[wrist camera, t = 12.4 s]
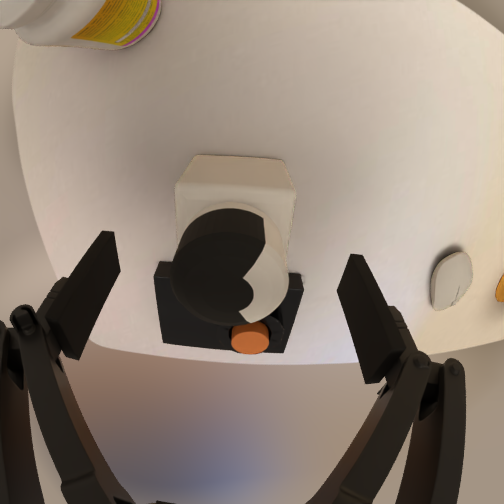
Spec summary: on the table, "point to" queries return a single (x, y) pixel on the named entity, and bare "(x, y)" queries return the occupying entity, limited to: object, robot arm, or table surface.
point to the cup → (500, 290)
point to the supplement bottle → (80, 21)
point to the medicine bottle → (232, 238)
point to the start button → (250, 338)
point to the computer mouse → (451, 280)
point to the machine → (212, 335)
